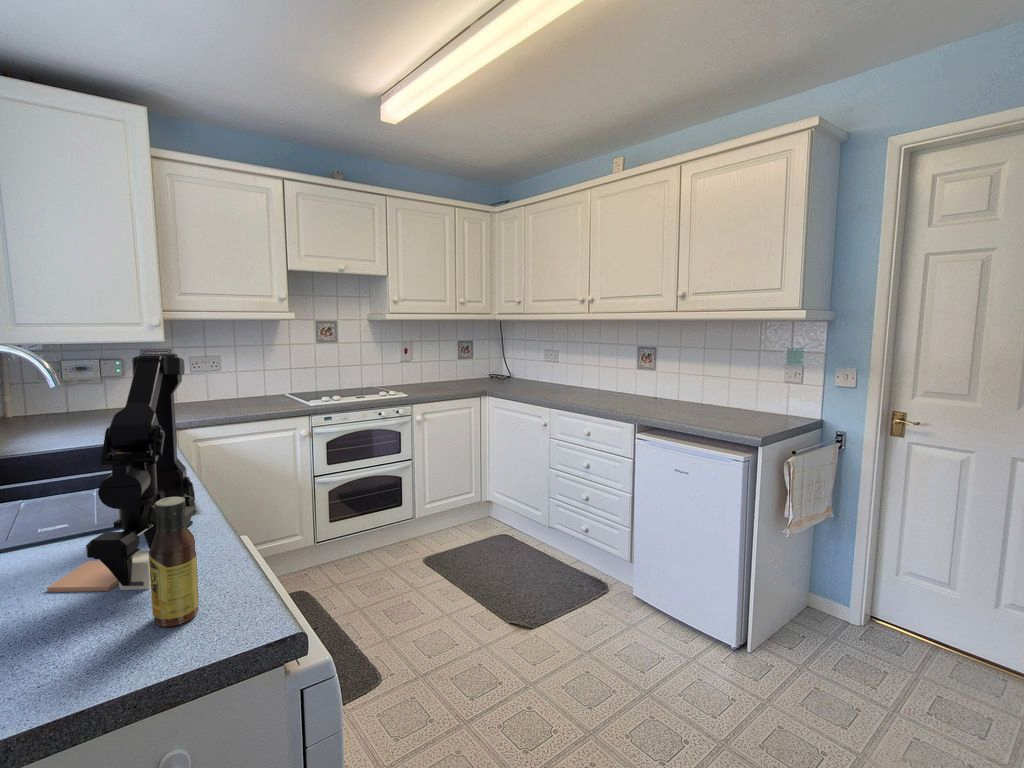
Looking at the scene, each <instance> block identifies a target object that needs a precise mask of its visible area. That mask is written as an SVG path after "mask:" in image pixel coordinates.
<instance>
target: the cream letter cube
mask: <svg viewBox="0 0 1024 768" xmlns="http://www.w3.org/2000/svg"><path fill="white" fill-rule="evenodd" d="M118 586H119V590H120V591H121V590H125V591H126V590H151V581H150V565H149V549H148V550H141V549H140V550H139V551H138V552H137V553H136V554H135V555H134V556H133V558H132V575H131V583H130V585H129V586H122V585H121V583H120V582H119V583H118Z"/></svg>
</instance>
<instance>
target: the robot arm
mask: <svg viewBox="0 0 1024 768" xmlns="http://www.w3.org/2000/svg"><path fill="white" fill-rule="evenodd" d="M131 360H132V361H131V362H132V363H131V364H132V379H131V385H130V386H129V387H130V388H129V391H128V395H127V399H126V404H125V406H124V407H123V408H122V409H120V410H118V411H117V413H115V414H113V417H112V420H111V422H110V426H109V427H106V429H105V433H104V438H103V445H102V453H101V459H100V466H103V467H104V466H112V467H111V474H110V475H108V476H107V477H106V478H105V479H104V480H103V481H102V482H101V484H100V486H99V488H98V490H97V494H98V498H99V500H100V501H101V503H103V505H105V506H106V507H107V508H111V509H114V510H118V515H119V517H118V518H119V519H117V520H115V521H113V528H114V529H122V531H105V532H103V533H102V534H100V535H97V536H96V537H95V538H93V539H91V540H90V541H88V543H87V544H86V545H85V550H86V552H85V553H86V557H87V559H90V558H91V559H92V558H93V559H94V560H98V561H101V562H102V563H103V564H104V565H105V566H106V567H107V568H108V569H109V570H110V571H111V572H112V574H113V575H114V576H115V577H116V578H117V580H118V581H119V582H120V583H121V585H122V586H129V585H130V583H131V575H132V558H133V556H134V555H135V554H136V553H137V552H138V551H139V550H141V548H139V545H140V536H141V535H142V534H143V535H144V538H145V540H146V545H147V546H148V550H150V547H151V545H152V542H153V539H154V536H155V533H156V530H157V528H156V527H157V516H156V513H155V502H157V501H159V500H161V499H164V498H168V497H183V498H185V501H186V508H185V521H186V525H185V526H186V527H187V528H189V527H190V526H191V525H192V524H193V523H194V521H193V520H192V517H193V515H196V513H197V510H196V503H195V500H196V493H195V488H194V484H193V482H192V481H191V478H190V476H188V474H187V467H186V466H185V465H184V463H182V461H181V460H180V459H179V458H178V448H177V425H176V423H177V422H176V409H175V408H176V407H175V392H176V391H177V389H178V388H179V386H180V385H181V383H182V381H183V378H182V377H183V375H185V368H186V367H185V360H184V358H182V357H179V356H178V354H177V353H142V354H139V355H137V356H135V357H132V359H131ZM113 452H114V453H115V454H114V453H113ZM112 453H113V454H112Z"/></svg>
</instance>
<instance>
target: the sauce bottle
mask: <svg viewBox="0 0 1024 768" xmlns="http://www.w3.org/2000/svg"><path fill="white" fill-rule="evenodd" d="M185 508H186V501H185V498H183V497H168V498H164V499H161V500H159V501H157V502H155V513H156V516H157V527H156V528H157V530H156V533H155V536H154V539H153V542H152V545H151V547H150V550H149V549H148V550H149V565H150V581H151V588H150V591H151V592H150V594H151V596H150V597H151V608H152V609H151V611H152V615H153V618H154V619H153V620H154V622H155V624H157V626H159V627H162V628H163V627H164V628H165V627H175V626H179V625H182V623H183V624H185V623H188V622H190V621H191V620H193V618H194V617H196V615H197V613H198V612H199V585H198V584H199V582H198V564H197V563H198V561H197V551H196V540H195V536H194V534H193V532H191V531H190V529H188V527H186V526H185V525H186V521H185ZM189 620H190V621H189Z"/></svg>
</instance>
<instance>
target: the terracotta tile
mask: <svg viewBox="0 0 1024 768" xmlns="http://www.w3.org/2000/svg"><path fill="white" fill-rule="evenodd" d="M117 585H119V581H118V580H117V578H116V577H115V576H114V575H113V574H112V572H111V571H110V570H109V569H108V568H107V567H106V566H105V565H104V564H103V563H102V562H101V561H100V560H88V561H85V562H84V563H83V564H81V565H80V566H78V567H76V568H75V569H73V570H72V571H70V572H69V573H67V574H65V575H64V576H62V577H61V578H60V579H58V580H56V581H55V582H53V583H52V584H50V585H48V586H47V587H46V592H47V593H57V592H60V593H61V592H65V593H67V592H68V593H69V592H109V591H111V590H112V589H113V588H114V587H116V586H117Z"/></svg>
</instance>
